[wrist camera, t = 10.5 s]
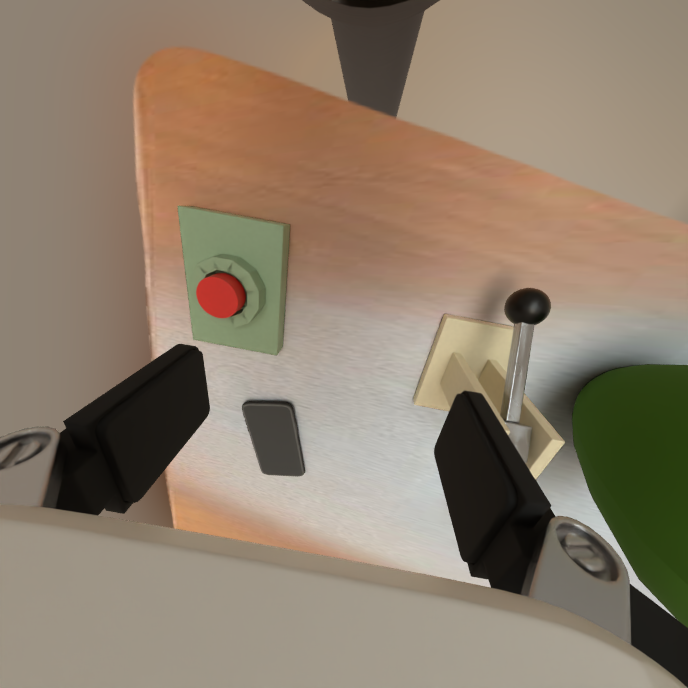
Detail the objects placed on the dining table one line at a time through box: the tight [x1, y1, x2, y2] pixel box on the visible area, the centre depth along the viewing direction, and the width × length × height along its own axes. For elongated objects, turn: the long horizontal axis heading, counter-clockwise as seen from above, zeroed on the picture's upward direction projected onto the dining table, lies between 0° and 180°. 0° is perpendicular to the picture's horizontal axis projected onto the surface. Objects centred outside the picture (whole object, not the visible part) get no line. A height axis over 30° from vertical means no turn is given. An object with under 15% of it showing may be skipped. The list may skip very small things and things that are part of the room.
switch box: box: [178, 206, 290, 355], centre depth 27 cm, size 14×10×4 cm
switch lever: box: [500, 288, 551, 463], centre depth 22 cm, size 14×3×3 cm, turn 171°
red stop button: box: [196, 273, 246, 318], centre depth 25 cm, size 4×4×2 cm
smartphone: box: [242, 401, 305, 476], centre depth 39 cm, size 7×1×15 cm
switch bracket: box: [413, 314, 565, 480], centre depth 25 cm, size 12×9×13 cm
